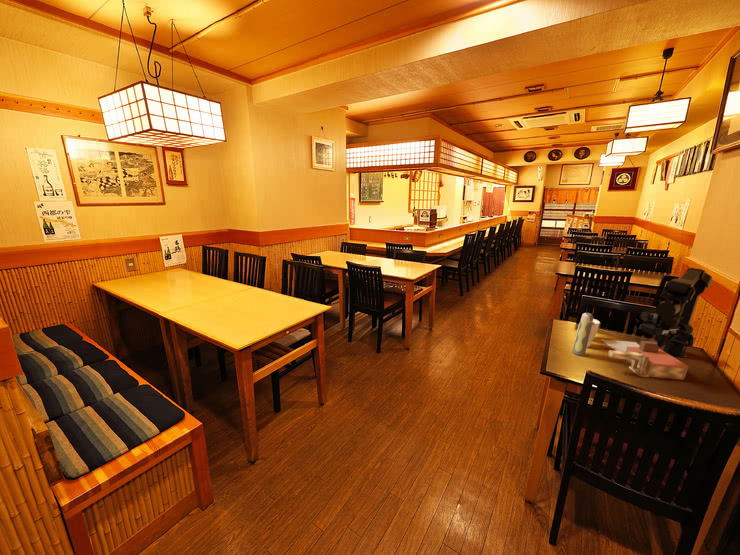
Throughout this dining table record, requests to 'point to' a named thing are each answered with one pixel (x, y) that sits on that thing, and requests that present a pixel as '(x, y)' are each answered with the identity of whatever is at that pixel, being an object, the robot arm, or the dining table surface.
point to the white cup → (595, 327)
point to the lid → (657, 355)
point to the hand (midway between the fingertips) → (659, 346)
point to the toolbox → (655, 369)
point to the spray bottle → (583, 334)
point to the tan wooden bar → (625, 355)
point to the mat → (620, 344)
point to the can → (590, 334)
